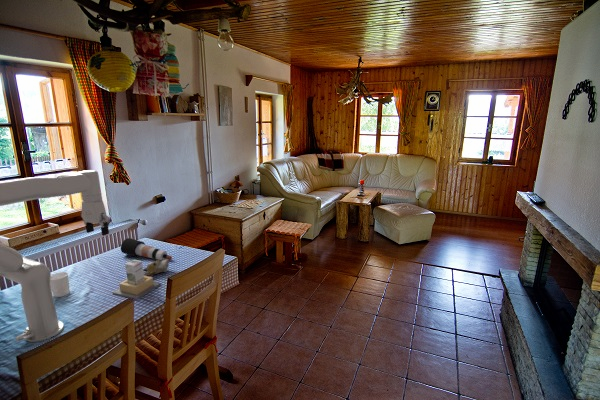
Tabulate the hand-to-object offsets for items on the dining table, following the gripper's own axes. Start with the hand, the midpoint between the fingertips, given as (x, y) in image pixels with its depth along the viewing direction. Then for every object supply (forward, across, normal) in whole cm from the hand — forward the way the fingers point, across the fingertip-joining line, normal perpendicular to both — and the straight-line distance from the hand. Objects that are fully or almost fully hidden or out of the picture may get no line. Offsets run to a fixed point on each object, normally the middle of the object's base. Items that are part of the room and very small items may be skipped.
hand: (97, 233), depth 150 cm
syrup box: (+34, +6, +12) cm, 36 cm away
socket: (+34, +6, +12) cm, 37 cm away
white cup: (+34, -26, -5) cm, 43 cm away
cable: (+35, -18, +44) cm, 59 cm away
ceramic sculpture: (+35, +2, +29) cm, 45 cm away
